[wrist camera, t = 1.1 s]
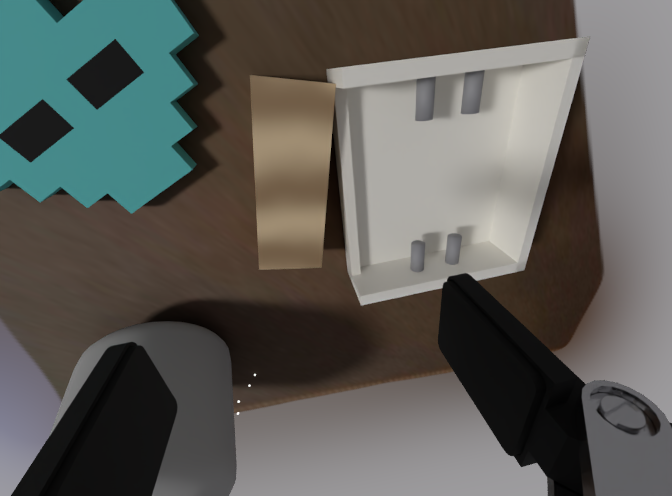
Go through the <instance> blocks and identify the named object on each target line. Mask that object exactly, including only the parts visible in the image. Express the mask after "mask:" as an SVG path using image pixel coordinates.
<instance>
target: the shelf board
mask: <svg viewBox="0 0 672 496" xmlns="http://www.w3.org/2000/svg"><path fill="white" fill-rule="evenodd" d="M250 86H251V107H252V128H253V149H254V171H255V192H256V213H257V234H258V255H259V270H267V269H299V268H322V256H323V243H324V230H325V217H326V205H327V192H328V179H329V166H330V154H331V141H332V128H333V115H334V103H335V90H336V84H333V83H325V82H315V81H305V80H295V79H286V78H276V77H266V76H256V75H250Z"/></svg>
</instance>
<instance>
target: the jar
mask: <svg viewBox="0 0 672 496" xmlns="http://www.w3.org/2000/svg"><path fill="white" fill-rule="evenodd" d="M128 342H135V343H136V344H137V345H141V346H143V347H144V349H145V350H146V352H147V354H148V355H149V357H150V358H151V360H152V362H153V363H154V365H155V367H156V368H157V370H158V371H159V373H160V375H161V376H162V378H163V380H164V381H165V383H166V384H167V386H168V388H169V389H170V391H171V393H172V394H173V396H174V397H175V399H176V401H177V407H178V408H177V414H176V418H175V421H174V424H173V428H172V431H171V434H170V438H169V441H168V444H167V447H166V451H165V454H164V457H163V461H162V464H161V467H160V471H159V474H158V477H157V481H156V484H155V487H154V490H153V494H152V496H229V494H230V492H231V490H232V488H233V486H234V483H235V480H236V448H235V428H234V408H233V389H232V369H231V358H230V353H229V348H228V347H227V345H226V343H225V342H224V341H223V340H222V339H221V338H220V337H219V336H217V335H216V334H215V333H214V332H212V331H210V330H208V329H206V328H204V327H201V326H198V325H195V324H190V323H184V322H173V321H160V322H148V323H142V324H136V325H133V326H129V327H126V328H122V329H120V330H117V331H115V332H113V333H110V334H108V335H107V336H105V337H103V338H102V339H100V340H99V341H97V342H96V343H94V344H93V345H91V346H90V347H89V348H88V349H87V350H86V351H85V352H84V353H83V354H82V356H81V358H80V359H79V361H78V363H77V365H76V367H75V369H74V371H73V373H72V376H71V379H70V381H69V384H68V387H67V390H66V392H65V395H64V398H63V400H62V403H61V406H60V409H59V411H58V414H57V417H56V419H55V422H54V425H53V428H52V430H51V433H52V432H53V430H54V429H55V427H56V426H57V424H58V423H59V421H60V419H61V418H62V416H63V415H64V413H65V412H66V410H67V409H68V407H69V406H70V404H71V403H72V401H73V399H74V398H75V396H76V395H77V393H78V392H79V390H80V389H81V387H82V386H83V384H84V383H85V381H86V379H87V378H88V376H89V375H90V373H91V372H92V370H93V369H94V367H95V366H96V364H97V363H98V361H99V359H100V358H101V356H102V355H103V353H104V352H105V350H106V349H107V348H108V347H110V346H113V345H118V344H123V343H128ZM254 376H256V374H254ZM248 386H249V387H250V386H251V385H250V384H249V385H248ZM238 403H240V401H238ZM237 414H238V415H239V412H237ZM51 433H50V435H51Z"/></svg>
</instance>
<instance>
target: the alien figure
mask: <svg viewBox="0 0 672 496" xmlns="http://www.w3.org/2000/svg"><path fill="white" fill-rule="evenodd" d="M198 36H199V35H198V33H197V32H196V30H195V29H194V28H193V26H192V25H191V23H190V22H189V21H188V19H187V18H186V16H185V15H184V13H183V12H182V11H181V9H180V8H179V6H178V5H177V4H176V2H175V1H174V0H83V1H82V2H81V3H80V4H78V5H77V6H76V7H75V8H74V9H73V10H72V11H70V12H69V13H68V14H67V15H66V16H65V17H63V16H62V14H61V13H60V12H59V11H58V10H57V9H56V8H55V7H54V6H53V4H52V3H51V2H50V1H49V0H0V191H2V190H4V189H6V188H8V187H9V186H10V185H11V184H13V183H15V184H16V185H17V186H19V187H20V188H22V189H23V190H24V191H26V192H27V193H28V194H30V195H31V196H32V197H34V198H35V199H36V200H38V201H39V202H41V201H43V200H45V199H47V198H49V197H51V196H52V195H54V194H55V193H57V192H58V191H59V190H61V189H62V188H63V189H64V190H65V191H67V192H68V193H69V194H70V195H72V196H73V197H74V198H75V199H77V200H78V201H79V202H80V203H82V204H83V205H84V206H85V207H87V208H88V207H90V206H91V205H93V204H94V203H95V202H97V201H98V200H99V199H101V198H102V197H103V196H105V195H106V194H107V193H108V194H109V195H110V196H111V197H113V198H114V199H115V200H116V201H117V202H118V203H120V204H121V205H122V206H123V207H124V208H125V209H127V210H128V211H129V212H130V213H131V214H132V213H133V212H135V211H136V210H137V209H139V208H140V207H141V206H143V205H144V204H146V203H147V202H148V201H150V200H151V199H153V198H154V197H155V196H157V195H158V194H159V193H161V192H162V191H164V190H165V189H166V188H168V187H169V186H171V185H172V184H173V183H175V182H176V181H177V180H179V179H180V178H182V177H183V176H184V175H186V174H187V173H189V172H190V171H191V170H193V168H194V167H195V166H196V165H197V164H196V163H195V162H194V160H193V159H192V158H191V157H190V156H189V155H188V154H187V153H186V152H185V151H184V149H183V148H182V147H181V146H180V145H179V144H178V143H177V141H179V140H180V139H181V138H183V137H184V136H186V135H187V134H188V133H190V132H191V131H192V130H194V129H195V128H196V127H198V126H197V125H196V124H195V123H194V122H193V120H192V119H191V118H190V117H189V116H188V114H187V113H186V112H185V111H184V110H183V108H182V107H181V106H180V105H179V104H178V102H177V100H178V99H179V98H181V97H182V96H183V95H185V94H186V93H187V92H189V91H190V90H191V89H193V88H194V87H195V86H196V85H198V83H197V82H196V80H195V79H194V78H193V76H192V75H191V74H190V72H189V71H188V70H187V69H186V67H185V66H184V65H183V63H182V62H181V61H180V59H179V58H178V57H177V56H176V54H177V53H178V52H179V51H181V50H182V49H183V48H185V47H186V46H187V45H188V44H190V43H191V42H192V41H193V40H195V39H196V38H197V37H198Z"/></svg>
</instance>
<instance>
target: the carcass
mask: <svg viewBox="0 0 672 496" xmlns="http://www.w3.org/2000/svg"><path fill="white" fill-rule="evenodd" d="M589 39H590V37H582V38H574V39H566V40H558V41H550V42H542V43H534V44H526V45H518V46H510V47H502V48H494V49H486V50H478V51H470V52H461V53H453V54H445V55H437V56H429V57H421V58H413V59H405V60H397V61H389V62H381V63H373V64H365V65H357V66H349V67H341V68H333V69H326V70H327V80H328V83H333V84H336V90H335V103H334V115H333V137H334V146H335V156H336V165H337V175H338V184H339V194H340V203H341V213H342V222H343V232H344V241H345V251H346V260H347V270H348V274H349V276H350V279H351V281H352V284H353V286H354V289H355V291H356V294H357V297H358V299H359V302H360V304H361V305H366V304H370V303H375V302H379V301H384V300H389V299H393V298H398V297H403V296H407V295H412V294H416V293H421V292H426V291H430V290H435V289H440V288H443V283H444V282H447V279H448V277H450V276H454V275H459V274H463V273H468V274H469V275H471V276H472V277H473V278H474V279H475V280H476V281H477V280H481V279H486V278H491V277H495V276H500V275H505V274H509V273H514V272H518V271H523V270H524V269H525V265H526V262H527V258H528V255H529V251H530V248H531V244H532V241H533V237H534V234H535V230H536V227H537V223H538V220H539V216H540V212H541V209H542V205H543V202H544V198H545V195H546V191H547V188H548V184H549V181H550V177H551V174H552V170H553V167H554V163H555V159H556V156H557V152H558V149H559V145H560V142H561V138H562V135H563V131H564V128H565V124H566V121H567V117H568V114H569V110H570V107H571V103H572V99H573V96H574V92H575V89H576V85H577V82H578V78H579V75H580V71H581V68H582V64H583V61H584V57H585V53H586V50H587V46H588V43H589Z"/></svg>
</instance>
